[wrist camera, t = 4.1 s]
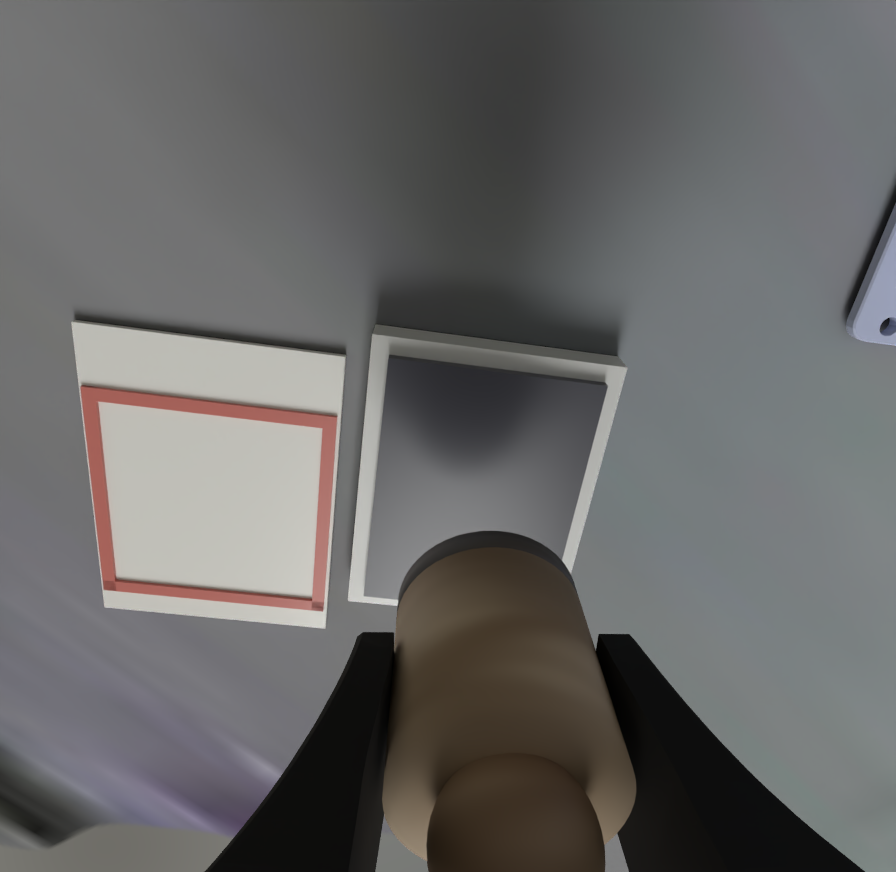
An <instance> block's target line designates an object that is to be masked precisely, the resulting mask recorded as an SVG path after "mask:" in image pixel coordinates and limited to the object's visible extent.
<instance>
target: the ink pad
mask: <svg viewBox="0 0 896 872" xmlns="http://www.w3.org/2000/svg"><path fill="white" fill-rule="evenodd" d="M626 371H627V366H626V365H625V364H624V363H623V362H622V361H621V359H620V358H619V357H618V356H611V355H603V354H596V353H588V352H581V351H573V350H566V349H558V348H551V347H543V346H536V345H528V344H520V343H513V342H505V341H498V340H490V339H483V338H475V337H468V336H460V335H453V334H445V333H438V332H430V331H422V330H415V329H407V328H400V327H392V326H385V325H377V324H376V325H375V328H374V330H373V333H372V342H371V353H370V364H369V375H368V386H367V397H366V408H365V419H364V430H363V441H362V452H361V463H360V474H359V485H358V496H357V506H356V517H355V528H354V539H353V550H352V561H351V572H350V583H349V594H348V601H354V602H364V603H374V604H384V605H394V606H398V597H399V591H400V588H401V584H402V582H403V580H404V578H405V575H406V574H407V572H408V571H409V569H410V568H411V566H412V565H413V564H414V563H415V562H416V561H417V559H418V558H420V557H421V556H422V555H423V554H424V553H425V552H426V551H428V550H429V549H431V548H432V547H434V546H435V545H437V544H439V543H441V542H443V541H445V540H447V539H450V538H452V537H455V536H458V535H462V534H466V533H470V532H478V531H505V532H511V533H516V534H520V535H523V536H526V537H529V538H531V539H533V540H535V541H538V542H540V543H541V544H543V545H544V546H546V547H548V548H549V549H550V550H551V551H553V552H554V553H555V554H556V555H557V556H558V557H559V558H560V559H561V560H562V561H563V563H564V564H565V565H566V567H567V569H568V570H569V572H570V574H571V572H572V568H573V564H574V561H575V557H576V553H577V550H578V546H579V542H580V539H581V535H582V532H583V528H584V524H585V521H586V517H587V513H588V510H589V506H590V502H591V499H592V495H593V492H594V488H595V484H596V481H597V477H598V473H599V470H600V466H601V462H602V459H603V455H604V452H605V448H606V444H607V441H608V437H609V433H610V430H611V426H612V422H613V419H614V415H615V411H616V408H617V404H618V401H619V397H620V393H621V390H622V386H623V382H624V379H625V375H626Z"/></svg>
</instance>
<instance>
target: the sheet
mask: <svg viewBox="0 0 896 872" xmlns="http://www.w3.org/2000/svg"><path fill="white" fill-rule="evenodd" d="M71 323H72V331H73V340H74V348H75V357H76V366H77V374H78V383H79V391H80V400H81V409H82V417H83V426H84V434H85V443H86V452H87V460H88V469H89V477H90V486H91V495H92V503H93V512H94V520H95V529H96V538H97V546H98V555H99V563H100V572H101V581H102V589H103V598H104V606H105V607H107V608H118V609H128V610H138V611H149V612H159V613H169V614H180V615H190V616H200V617H211V618H221V619H232V620H242V621H252V622H263V623H273V624H283V625H294V626H304V627H315V628H326V620H327V607H328V594H329V580H330V567H331V553H332V540H333V526H334V513H335V500H336V486H337V473H338V459H339V446H340V432H341V419H342V406H343V392H344V379H345V365H346V355H344V354H336V353H328V352H321V351H313V350H305V349H297V348H289V347H282V346H274V345H266V344H258V343H251V342H243V341H235V340H227V339H219V338H212V337H204V336H196V335H188V334H181V333H173V332H165V331H157V330H150V329H142V328H134V327H126V326H118V325H111V324H103V323H95V322H87V321H80V320H74V321H72V322H71Z"/></svg>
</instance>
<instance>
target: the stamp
mask: <svg viewBox="0 0 896 872" xmlns="http://www.w3.org/2000/svg"><path fill="white" fill-rule="evenodd" d="M635 796H636V779H635V774H634V770H633V767H632V764H631V760H630V757H629V754H628V751H627V748H626V745H625V742H624V738H623V735H622V732H621V729H620V726H619V723H618V720H617V716H616V713H615V710H614V707H613V704H612V701H611V698H610V695H609V691H608V688H607V685H606V682H605V679H604V676H603V673H602V669H601V666H600V663H599V660H598V657H597V654H596V651H595V647H594V644H593V641H592V638H591V635H590V632H589V629H588V625H587V622H586V619H585V616H584V613H583V610H582V607H581V603H580V600H579V597H578V594H577V591H576V588H575V585H574V581H573V579H572V577H571V574H570V572H569V570H568V569H567V567H566V565H565V564H564V563H563V561H562V560H561V559H560V558H559V557H558V556H557V555H556V554H555V553H554V552H553V551H551V550H550V549H549V548H548V547H546V546H544V545H543V544H541V543H540V542H538V541H535V540H533V539H531V538H529V537H526V536H523V535H520V534H516V533H511V532H505V531H478V532H470V533H466V534H462V535H458V536H455V537H452V538H450V539H447V540H445V541H443V542H441V543H439V544H437V545H435V546H434V547H432V548H431V549H429V550H428V551H426V552H425V553H424V554H423V555H422V556H421V557H420V558H418V559H417V561H416V562H415V563H414V564H413V565H412V566H411V568H410V569H409V571H408V572H407V574H406V575H405V578H404V580H403V582H402V584H401V588H400V591H399V597H398V608H397V620H396V633H395V645H394V662H393V674H392V686H391V698H390V709H389V720H388V733H387V745H386V758H385V770H384V782H383V795H382V803H383V811H384V814H385V818H386V821H387V823H388V825H389V827H390V829H391V831H392V832H393V833H394V835H395V836H396V837H397V839H398V840H399V841H400V842H401V843H402V844H403V845H404V846H406V848H408V849H409V850H410V851H412V852H413V853H414V854H416V855H417V856H419V857H421V858H422V859H424V860H426V861H427V864H428V870H429V872H605V848H604V845H605V844H606V843H607V842H608V841H609V840H610V839H612V838H613V837H614V836H615V835H616V834H617V833H618V831H619V830H620V829H621V828H622V826H623V825H624V824H625V822H626V820H627V819H628V817H629V815H630V813H631V811H632V808H633V805H634V802H635Z"/></svg>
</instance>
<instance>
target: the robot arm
mask: <svg viewBox="0 0 896 872" xmlns="http://www.w3.org/2000/svg"><path fill="white" fill-rule="evenodd" d="M887 318H890V322H889V325H888V326H887V328H886V329H885V330H883V331H881V332H880V331H879V330H880V325H881V324H882V322H883V321H884V320H886V319H887ZM846 328H847V332H848V333H849V334H850V335H851V336H852V337H854V338H856V339H859V340H861V341H865V342H872V343H879V344H887V345H894V346H896V203H895V206H894V208H893V211H892V213H891V215H890V218H889V220H888V223H887V225H886V227H885V230H884V232H883V235H882V237H881V239H880V242H879V244H878V247H877V249H876V251H875V254H874V256H873V259H872V261H871V263H870V266H869V268H868V271H867V273H866V275H865V278H864V280H863V283H862V285H861V287H860V290H859V292H858V295H857V297H856V299H855V302H854V304H853V307H852V309H851V311H850V314H849V316H848V319H847V323H846ZM596 654H597V657H598V660H599V663H600V666H601V669H602V673H603V676H604V679H605V682H606V685H607V688H608V691H609V695H610V698H611V701H612V704H613V707H614V710H615V713H616V716H617V720H618V723H619V726H620V729H621V732H622V735H623V738H624V742H625V745H626V748H627V751H628V754H629V757H630V760H631V764H632V767H633V770H634V774H635V779H636V796H635V802H634V805H633V808H632V811H631V813H630V815H629V817H628V819H627V820H626V822H625V824H624V825H623V826H622V828H621V829H620V830H619V831H618V836H619V840H620V843H621V846H622V850H623V853H624V856H625V859H626V863H627V866H628V869H629V872H865V871H863V870H862V869H861V868H860V867H858V866H857V865H856V864H855V863H853V862H852V861H851V860H850V859H848V858H847V857H846V856H845V855H843V854H842V853H841V852H840V851H838V850H837V849H836V848H835V847H834V846H832V845H831V844H830V843H829V842H827V841H826V840H825V839H824V838H822V837H821V836H820V835H819V834H817V833H816V832H815V831H814V830H813V829H812V828H810V827H809V826H808V825H807V824H806V823H805V822H803V821H802V820H801V819H800V818H799V817H798V816H796V815H795V814H794V813H793V812H792V811H791V810H790V809H789V808H788V807H787V806H785V805H784V804H783V803H782V802H781V801H780V800H779V799H778V798H777V797H776V796H774V795H773V794H772V793H771V792H770V791H769V790H768V789H767V788H766V787H765V786H764V785H763V784H762V783H761V782H759V781H758V780H757V779H756V778H755V777H754V776H753V775H752V774H751V773H750V772H749V771H748V770H747V769H746V768H745V767H744V766H743V765H742V764H741V763H740V762H739V760H738V759H737V758H736V757H735V756H734V755H733V754H732V753H731V752H730V751H729V750H728V749H727V748H726V747H725V746H724V745H723V744H722V743H721V742H720V741H719V740H718V738H717V737H716V736H715V735H714V734H713V733H712V732H711V731H710V730H709V729H708V728H707V726H706V725H705V724H704V723H703V722H702V721H701V720H700V718H699V717H698V716H697V715H696V714H695V713H694V712H693V710H692V709H691V708H690V707H689V706H688V705H687V704H686V703H685V701H684V700H683V699H682V698H681V697H680V695H679V694H678V693H677V692H676V691H675V690H674V688H673V687H672V686H671V685H670V683H669V682H668V681H667V680H666V679H665V677H664V676H663V675H662V674H661V673H660V671H659V670H658V669H657V668H656V666H655V665H654V664H653V663H652V661H651V660H650V659H649V658H648V656H647V655H646V654H645V653H644V651H643V650H642V649H641V647H640V646H639V645H638V644H637V642H636V641H635V640H634V639H633V638H632V637H631V636H630V635H629V634H599V636H598V642H597V648H596ZM393 662H394V633H392V632H363V633H361V634H360V635H359V636H358V637H357V639H356V642H355V645H354V648H353V650H352V653H351V655H350V658H349V660H348V662H347V664H346V666H345V669H344V671H343V673H342V675H341V677H340V679H339V681H338V683H337V685H336V687H335V689H334V691H333V692H332V694H331V696H330V698H329V700H328V701H327V703H326V705H325V707H324V709H323V710H322V712H321V714H320V716H319V718H318V719H317V721H316V723H315V724H314V726H313V728H312V729H311V731H310V733H309V734H308V736H307V737H306V739H305V740H304V742H303V744H302V745H301V747H300V748H299V750H298V751H297V753H296V755H295V756H294V758H293V759H292V761H291V762H290V764H289V765H288V767H287V768H286V770H285V771H284V773H283V774H282V775H281V777H280V778H279V780H278V781H277V783H276V784H275V785H274V787H273V788H272V790H271V791H270V792H269V794H268V795H267V796H266V798H265V799H264V800H263V802H262V803H261V804H260V806H259V807H258V808H257V810H256V811H255V812H254V813H253V815H252V816H251V817H250V818H249V820H248V821H247V822H246V823H245V825H244V826H243V827H242V828H241V830H240V831H239V832H238V833H237V835H236V836H235V837H234V838H233V839H232V841H231V842H230V843H229V845H228V846H227V847H226V848H225V849H224V850H223V851H222V853H221V854H220V855H219V856H218V858H216V860H215V861H214V862H213V863H212V864H211V865H210V867H209V868H208V869H207V870H206V871H205V872H375V869H376V863H377V856H378V850H379V843H380V837H381V830H382V823H383V817H384V811H383V803H382V795H383V782H384V770H385V758H386V745H387V733H388V720H389V709H390V698H391V686H392V674H393Z"/></svg>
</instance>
